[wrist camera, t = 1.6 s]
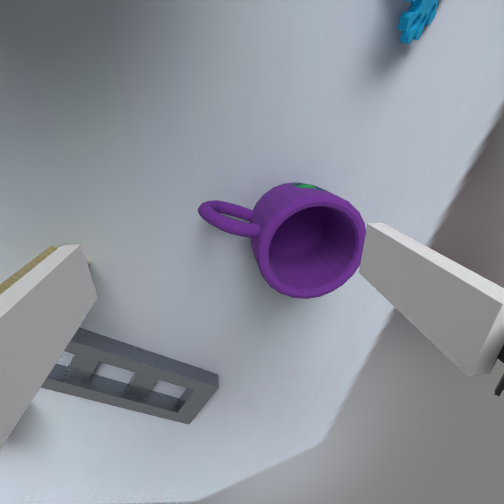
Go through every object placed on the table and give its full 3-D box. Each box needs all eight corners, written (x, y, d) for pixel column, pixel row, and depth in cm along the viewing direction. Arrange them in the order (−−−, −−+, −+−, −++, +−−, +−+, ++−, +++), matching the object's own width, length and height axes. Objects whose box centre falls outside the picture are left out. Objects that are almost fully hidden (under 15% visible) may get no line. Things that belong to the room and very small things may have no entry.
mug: (342, 191, 34) (390, 213, 25) (309, 266, 38) (339, 308, 29) (211, 148, 30) (213, 156, 21) (189, 239, 34) (182, 278, 25)
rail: (-4, 357, 37) (-18, 372, 35) (17, 307, 34) (4, 319, 32) (190, 410, 47) (189, 424, 45) (218, 374, 45) (218, 387, 42)
